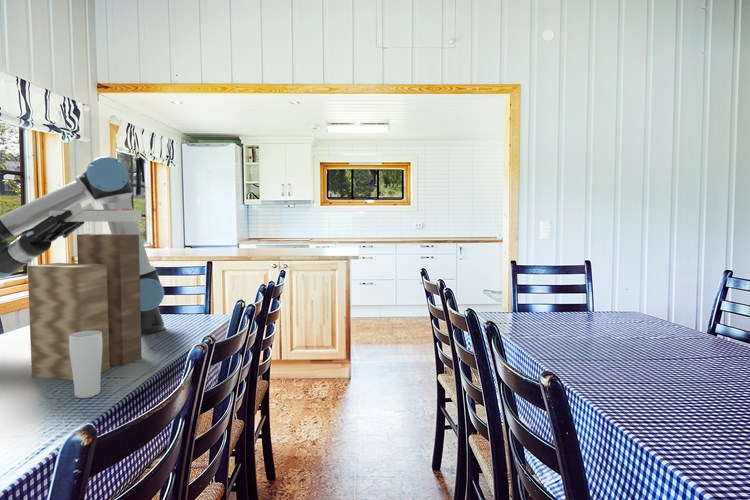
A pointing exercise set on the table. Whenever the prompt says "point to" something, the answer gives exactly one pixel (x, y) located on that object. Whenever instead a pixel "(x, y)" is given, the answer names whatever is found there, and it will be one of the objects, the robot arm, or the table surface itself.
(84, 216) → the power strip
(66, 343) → the stepped stand
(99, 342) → the drinking glass
